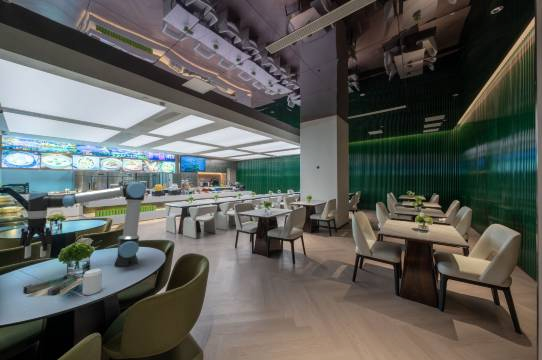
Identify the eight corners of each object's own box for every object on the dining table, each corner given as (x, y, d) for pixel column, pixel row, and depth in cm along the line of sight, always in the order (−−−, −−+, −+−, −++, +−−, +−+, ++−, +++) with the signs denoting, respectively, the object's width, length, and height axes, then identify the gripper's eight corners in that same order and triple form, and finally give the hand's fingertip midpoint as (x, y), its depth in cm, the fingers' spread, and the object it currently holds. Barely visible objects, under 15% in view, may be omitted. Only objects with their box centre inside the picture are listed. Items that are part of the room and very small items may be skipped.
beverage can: (90, 289, 120) (91, 268, 120) (104, 288, 121) (105, 268, 121) (78, 296, 112) (79, 274, 112) (93, 295, 112) (94, 273, 113)
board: (88, 279, 132) (88, 277, 132) (61, 296, 111) (62, 294, 111) (58, 281, 129) (58, 279, 129) (24, 299, 108) (25, 297, 108)
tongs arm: (76, 279, 129) (76, 273, 129) (27, 294, 110) (27, 287, 110) (71, 277, 132) (71, 271, 132) (23, 292, 113) (23, 285, 113)
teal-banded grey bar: (82, 278, 130) (83, 273, 131) (55, 295, 110) (55, 289, 111) (70, 279, 129) (71, 274, 129) (40, 296, 109) (41, 290, 109)
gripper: (62, 216, 126) (60, 254, 125) (23, 217, 122) (21, 255, 121) (51, 218, 119) (49, 258, 118) (10, 219, 115) (8, 260, 114)
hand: (35, 256), depth 119 cm, fingers open, 7 cm apart
